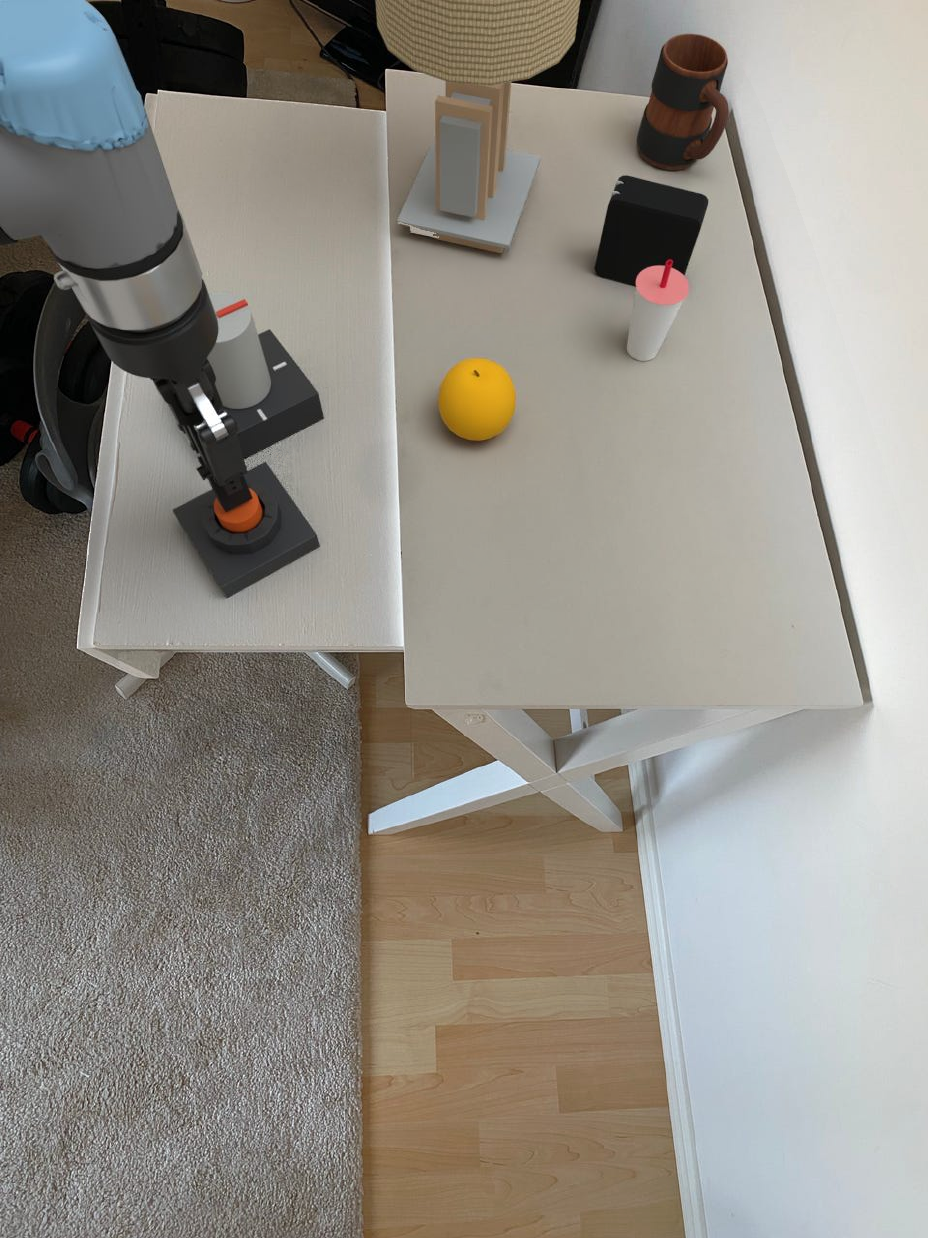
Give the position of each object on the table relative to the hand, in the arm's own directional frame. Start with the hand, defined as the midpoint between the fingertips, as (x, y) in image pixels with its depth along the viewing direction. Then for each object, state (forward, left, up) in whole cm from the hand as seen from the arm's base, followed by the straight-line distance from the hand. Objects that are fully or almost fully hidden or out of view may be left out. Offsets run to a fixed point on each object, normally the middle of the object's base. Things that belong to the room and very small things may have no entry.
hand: (235, 499), depth 71 cm
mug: (+71, +19, -6) cm, 74 cm away
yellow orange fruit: (+26, -1, -6) cm, 27 cm away
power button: (0, 0, -2) cm, 2 cm away
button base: (0, 0, -6) cm, 6 cm away
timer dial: (+7, +13, -2) cm, 15 cm away
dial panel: (+7, +13, -6) cm, 16 cm away
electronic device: (+54, +6, -6) cm, 55 cm away
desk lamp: (+44, +26, -6) cm, 51 cm away
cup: (+47, -3, -6) cm, 47 cm away
